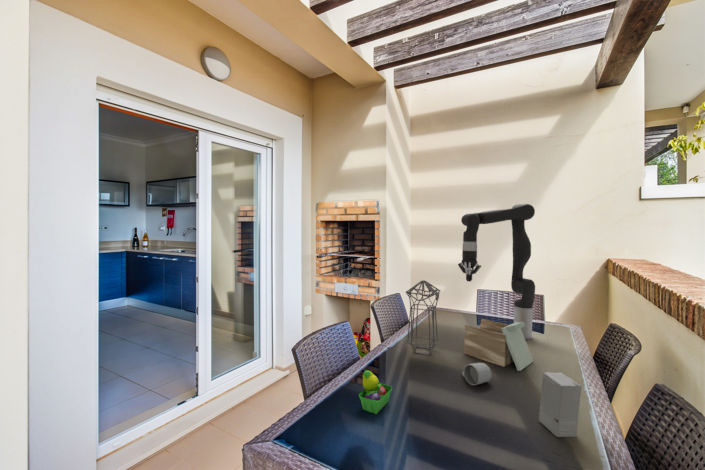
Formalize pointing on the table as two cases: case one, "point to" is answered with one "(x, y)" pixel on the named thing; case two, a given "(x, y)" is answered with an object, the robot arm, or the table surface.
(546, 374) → the skincare box
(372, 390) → the fruit basket
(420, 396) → the table surface
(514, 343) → the cover plate
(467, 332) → the birch box
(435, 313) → the geometric lantern
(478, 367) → the ceramic mug
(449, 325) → the table surface
